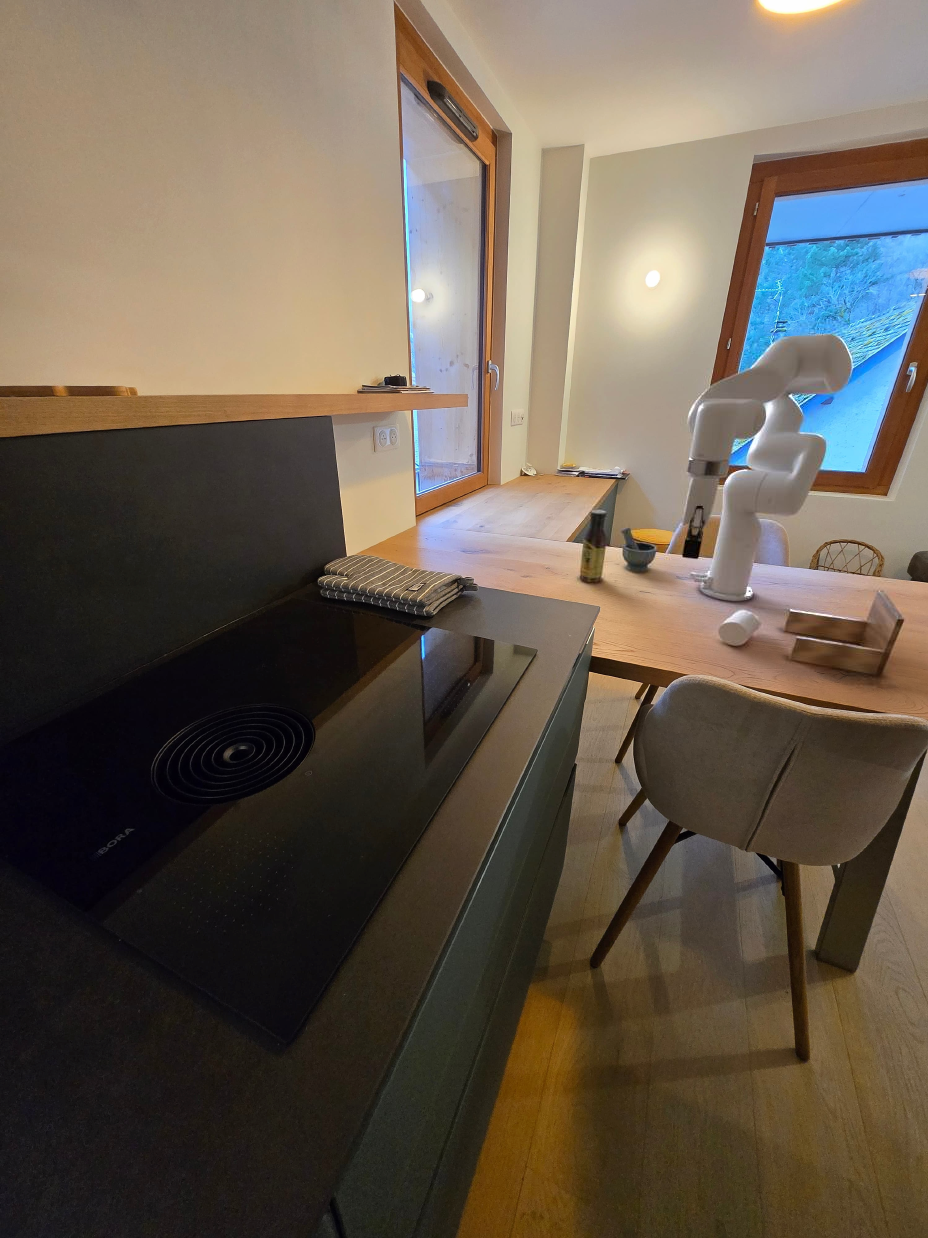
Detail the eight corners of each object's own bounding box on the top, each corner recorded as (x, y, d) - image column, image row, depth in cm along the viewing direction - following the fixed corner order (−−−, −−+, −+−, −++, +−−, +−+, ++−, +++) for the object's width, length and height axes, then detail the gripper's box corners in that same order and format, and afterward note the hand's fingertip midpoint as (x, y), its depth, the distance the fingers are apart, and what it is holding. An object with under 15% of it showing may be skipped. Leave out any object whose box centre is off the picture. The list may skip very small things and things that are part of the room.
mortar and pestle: (658, 567, 150) (665, 529, 144) (646, 576, 143) (652, 536, 138) (624, 560, 156) (628, 523, 151) (610, 568, 150) (615, 529, 145)
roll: (763, 630, 111) (769, 608, 109) (744, 649, 104) (751, 625, 101) (735, 622, 115) (740, 600, 113) (715, 640, 108) (720, 617, 105)
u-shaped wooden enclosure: (789, 659, 100) (806, 605, 95) (783, 629, 112) (798, 579, 107) (881, 676, 94) (904, 619, 89) (863, 642, 106) (883, 590, 101)
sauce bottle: (576, 575, 144) (582, 508, 136) (597, 575, 145) (604, 507, 136) (583, 584, 139) (590, 514, 130) (605, 583, 139) (613, 513, 130)
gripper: (690, 461, 108) (676, 540, 116) (684, 473, 94) (668, 562, 102) (728, 463, 105) (711, 544, 113) (728, 476, 91) (708, 567, 99)
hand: (691, 552), depth 107 cm, fingers open, 6 cm apart
